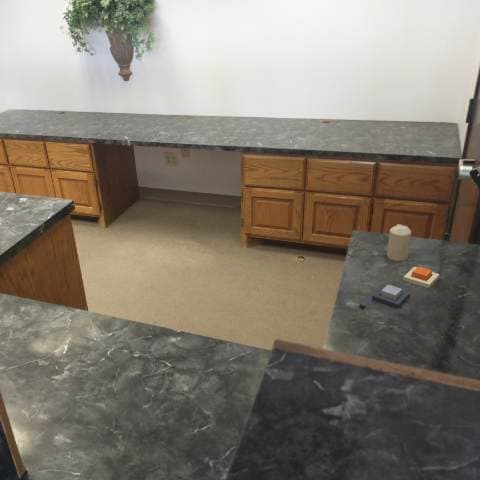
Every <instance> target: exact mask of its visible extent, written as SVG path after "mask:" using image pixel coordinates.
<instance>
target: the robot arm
mask: <svg viewBox="0 0 480 480" xmlns="http://www.w3.org/2000/svg"><path fill="white" fill-rule="evenodd" d="M468 174H469V175H470V178H471V179H472V180H473V182H474V184H475V185H476V187H477V189H478V190H479V191H480V166H477V167H474V168H472V169H471V170H470V171H469V173H468Z"/></svg>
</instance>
